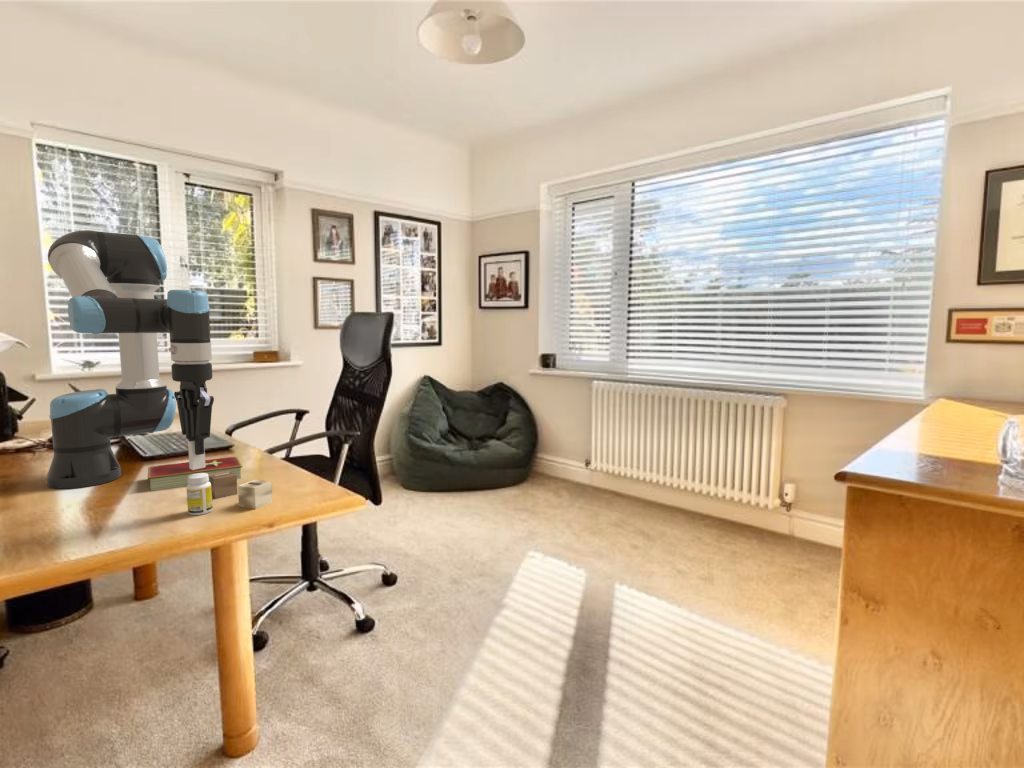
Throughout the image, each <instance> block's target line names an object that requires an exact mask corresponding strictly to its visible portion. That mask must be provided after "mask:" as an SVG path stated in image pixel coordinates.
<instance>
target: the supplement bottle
mask: <svg viewBox="0 0 1024 768" xmlns="http://www.w3.org/2000/svg"><path fill="white" fill-rule="evenodd" d="M208 481H209V476H208V474H207V473H197V474H192V475H189V476H188V483H189V484H188V485H187V486H185V487H186V501H187V512H188V514H189V515H191V516H200V515H206V514H208V513H210V512H212V511H213V497H212V490H211V483H210V482H208Z"/></svg>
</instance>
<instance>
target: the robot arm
mask: <svg viewBox="0 0 1024 768" xmlns="http://www.w3.org/2000/svg"><path fill="white" fill-rule="evenodd" d="M165 255H166V254H165V252H164V250H163V247H162V246H161V244H160V242H159V241H158V240H157V239H156V238H153V237H150V236H143V235H139V234H129V233H118V232H107V231H99V230H98V231H96V230H90V229H88V230H87V229H85V230H76V231H72V232H69V233H66V234H64V235H62V236H60V237H58V238H56V240H55V241H54V242H52V244H51V245H50V247H49V248H48V252H47V261H48V263H49V265H50V268H51V270H52V271H53V272H54V273H55V274H56V276H58V277H59V278H62V280H63V282H64V284H65V286H66V289H68V292H69V293H70V296H71V297H70V298H69V300H68V303H67V314H68V322H69V325H70V328H71V330H72V331H73V332H75V333H76V334H77V333H78V334H92V335H102V334H118V345H119V347H118V349H119V360H120V370H121V372H120V373H121V380H120V382H119V383H117V384H116V386H115V393H112V394H111V393H108V392H107V390H106V389H103V388H102V389H101V388H97V389H88V390H81V391H75V392H74V391H73V392H69V393H65V394H62V395H58V396H56V397H54V398H53V399H52V400H51V401H50V403H49V415H48V416H49V417H48V418H49V419H50V422H51V423H50V424H51V435H52V436H51V439H52V449H53V456H52V460H51V462H50V466H49V469H48V473H47V476H46V483H47V487H49V488H52V489H77V488H84V487H85V488H86V487H92V486H96V485H102V484H104V483H109V482H112V481H114V480H117V479H119V478H120V477H121V476H122V468H121V465H120V463H119V461H118V459H117V457H116V455H115V453H114V451H113V449H112V444H111V439H112V438H116V437H117V438H119V437H126V436H133V435H141V434H154V433H156V432H157V433H158V432H163V431H166V430H168V429H170V427H171V426H172V424H174V423H173V422H174V420H175V417H176V416H175V415H176V409H177V411H178V416H179V423H180V429H181V434H182V436H185V438H186V439H187V446H188V447H187V448H188V462H189V467H190V469H191V470H195V469H200V468H205V467H206V464H205V460H206V452H205V451H206V449H205V447H206V446H205V440H206V439H207V438H210V436H211V424H212V411H213V404H214V401H215V397H214V396H213V395H210V396H209V395H208V388H207V384H206V382H207V381H210V380H212V379H213V364H212V363H211V362H210V361H211V360H212V357H213V356H212V355H213V354H212V342H211V325H210V323H211V322H210V320H211V319H210V310H211V307H210V303H209V296H208V293H207V292H205V290H195V289H193V290H192V289H170V290H168V291H167V298H165V299H164V298H155V292H156V291H157V290H159V288H161V284H160V282H162V281H165V280H167V275H168V272H167V271H168V267H167V259H166V256H165ZM157 334H169V344H170V345H169V346H170V347H168V352H169V353H170V360H171V361H173V363H172V365H171V380H172V381H174V382H179V383H180V384H179V391H173V390H171V389H169V388H167V387H168V386H167V383H166V382H164V381H163V380H162V379H161V378H160V365H159V349H158V337H157V336H158V335H157ZM176 406H177V408H176Z"/></svg>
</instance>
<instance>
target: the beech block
mask: <svg viewBox="0 0 1024 768" xmlns="http://www.w3.org/2000/svg"><path fill="white" fill-rule="evenodd" d="M272 483H273V482H272V481H266V480H260V479H253V480H250V481H247V482H245V483H242V484H239V485H238V484H237V495H238V507H242V508H246V509H253V510H257V509H260V508H262V507H264V506H267V505H269V504H272V503H273V487H272V486H273V484H272Z"/></svg>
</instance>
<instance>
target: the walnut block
mask: <svg viewBox="0 0 1024 768" xmlns="http://www.w3.org/2000/svg"><path fill="white" fill-rule="evenodd" d="M208 476H209V481H208V482H210V483H211V490H212V499H215V500H217V499H223V498H226V497H232V496H235V495H238V482H237V481H238V479H237V475H236V474H234V473H233V472H231V471H225V472H219V473H214V474H208Z"/></svg>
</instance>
